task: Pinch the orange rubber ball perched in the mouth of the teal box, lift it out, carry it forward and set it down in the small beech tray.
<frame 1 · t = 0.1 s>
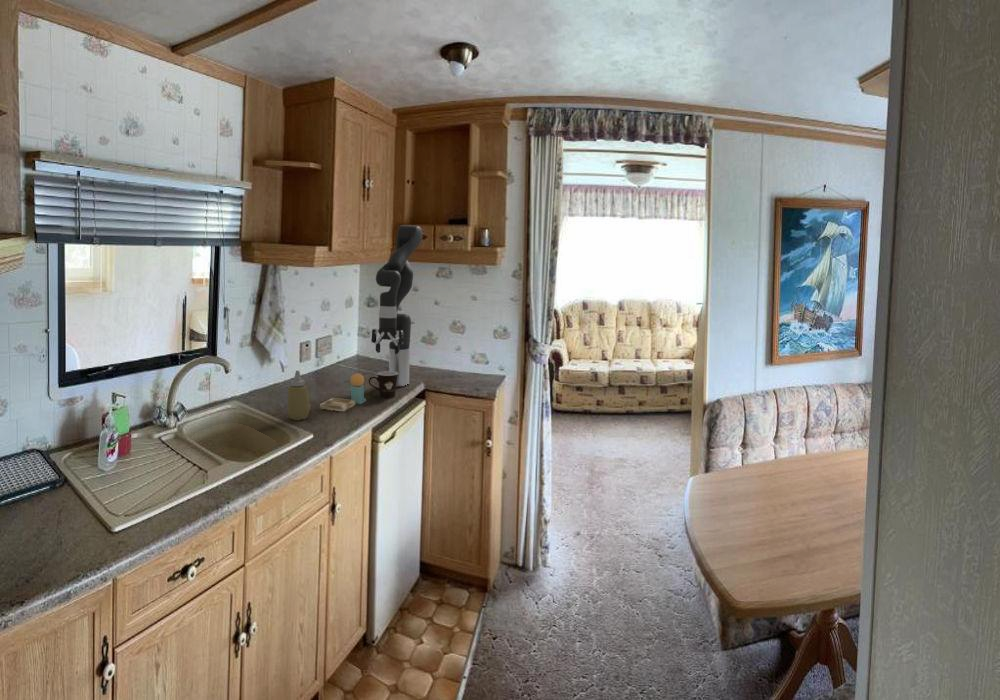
hand: (387, 353, 251), 17 cm above the worktop, tool pointing down, fingers open, 8 cm apart
ball: (357, 380, 233), point 9 cm above the worktop, touching teal box
teal box: (357, 402, 235), on the worktop
coffee mug: (384, 396, 246), on the worktop
squeeze bottle: (298, 418, 211), on the worktop
tray: (337, 406, 227), on the worktop
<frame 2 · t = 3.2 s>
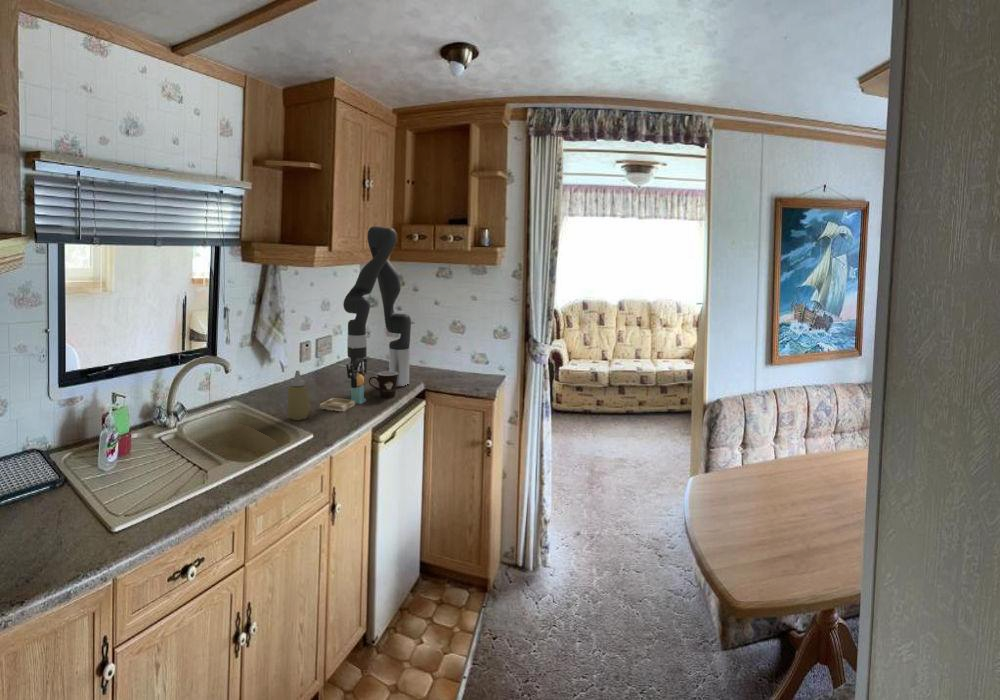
hand: (357, 385, 234), 7 cm above the worktop, tool pointing down, fingers closed on ball, 5 cm apart
ball: (357, 380, 233), point 9 cm above the worktop, touching gripper, teal box
everything else where it was.
when the fingers open (3 cm above the worktop, at t = 7.8 s): ball drops 2 cm, resting on tray.
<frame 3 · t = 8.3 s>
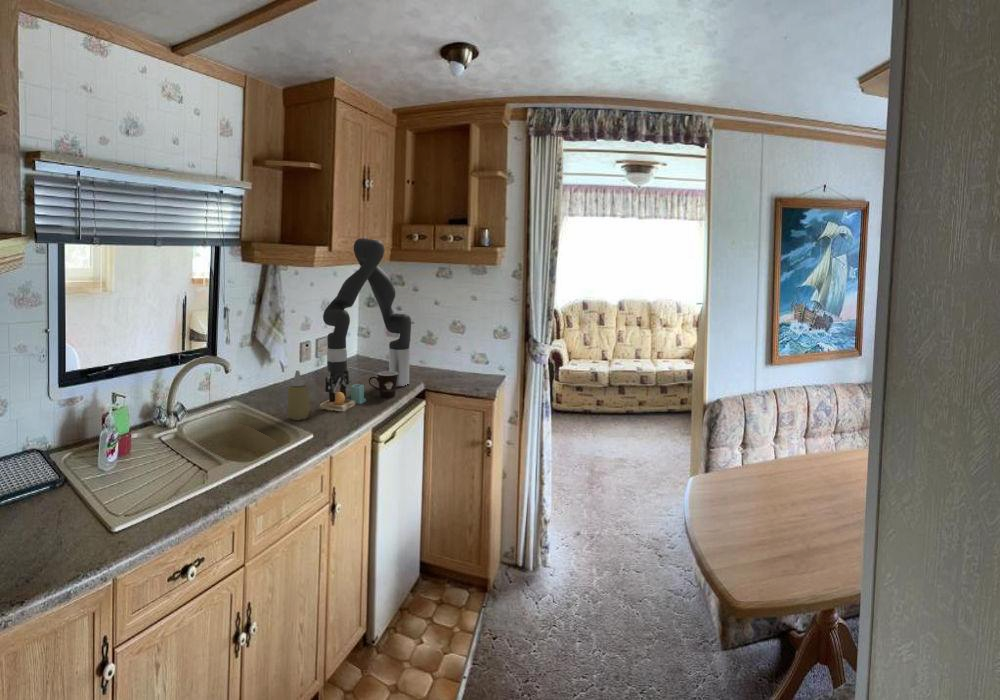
hand: (337, 398, 227), 3 cm above the worktop, tool pointing down, fingers open, 8 cm apart
ball: (337, 398, 227), point 4 cm above the worktop, touching tray
everything else where it was.
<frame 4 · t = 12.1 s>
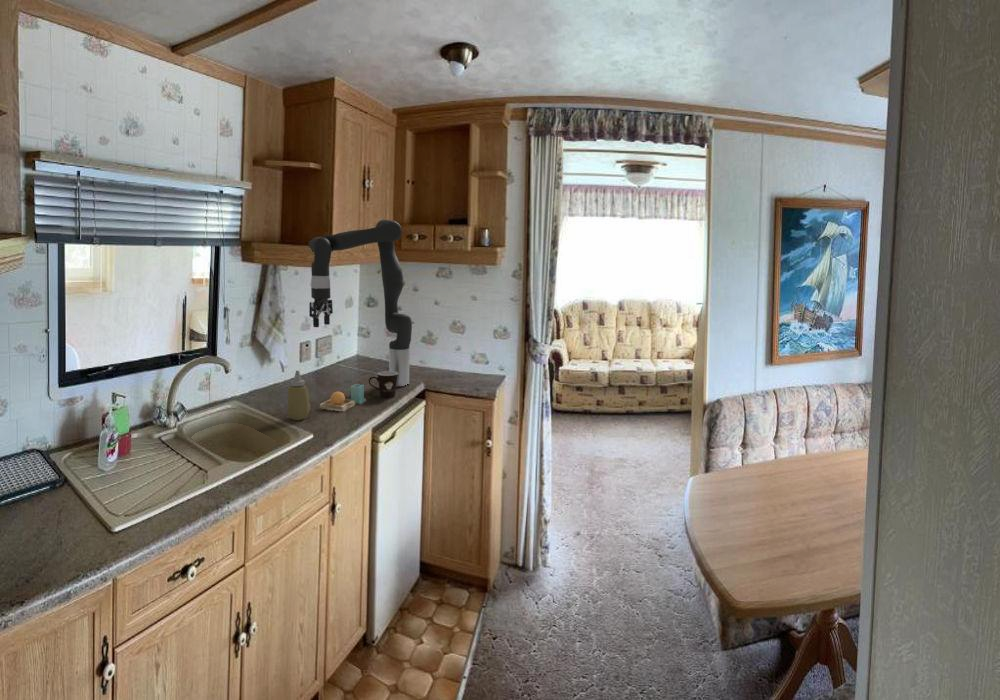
hand: (321, 325, 237), 30 cm above the worktop, tool pointing down, fingers open, 8 cm apart
nothing on the worktop moved.
at the end: ball inside the target area on the tray (0.0 cm from its centre), point 3.5 cm above the tray's base; the gripper is holding nothing; ball touching tray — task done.
